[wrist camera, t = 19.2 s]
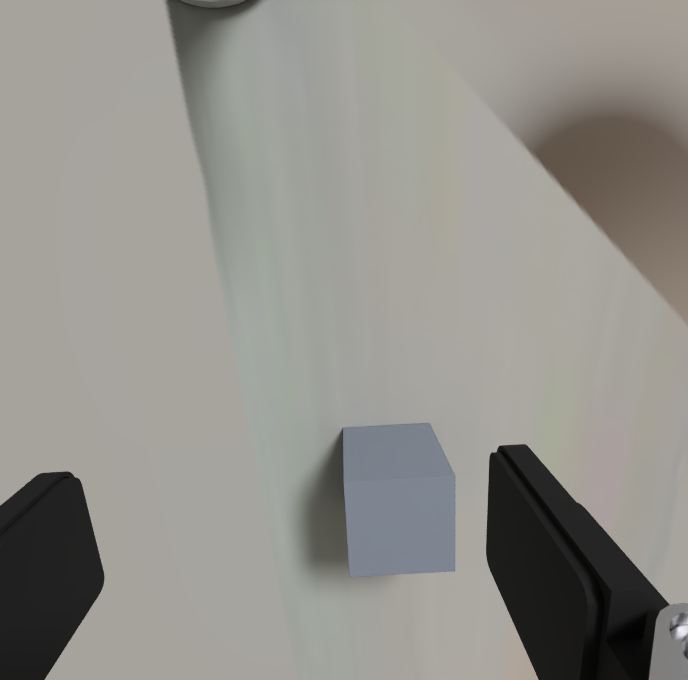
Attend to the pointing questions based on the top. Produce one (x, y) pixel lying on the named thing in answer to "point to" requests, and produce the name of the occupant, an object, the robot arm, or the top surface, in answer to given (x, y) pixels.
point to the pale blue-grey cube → (398, 501)
